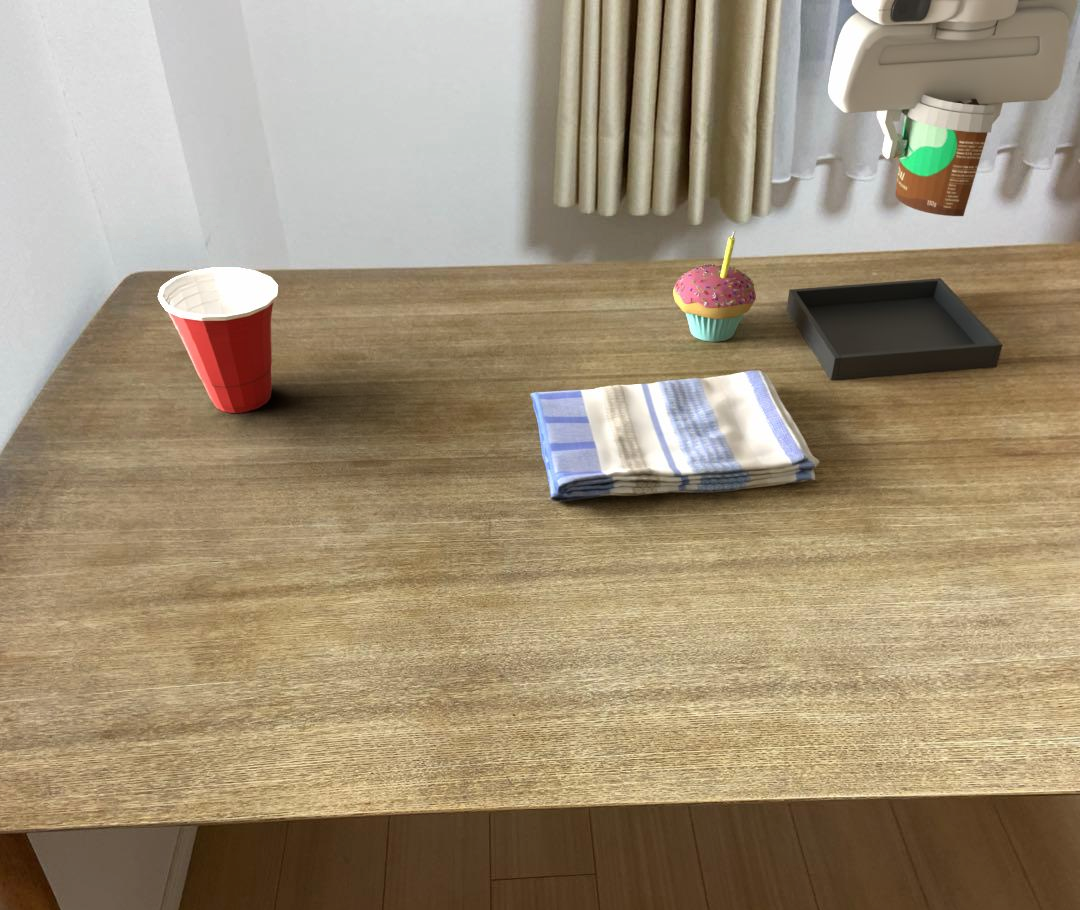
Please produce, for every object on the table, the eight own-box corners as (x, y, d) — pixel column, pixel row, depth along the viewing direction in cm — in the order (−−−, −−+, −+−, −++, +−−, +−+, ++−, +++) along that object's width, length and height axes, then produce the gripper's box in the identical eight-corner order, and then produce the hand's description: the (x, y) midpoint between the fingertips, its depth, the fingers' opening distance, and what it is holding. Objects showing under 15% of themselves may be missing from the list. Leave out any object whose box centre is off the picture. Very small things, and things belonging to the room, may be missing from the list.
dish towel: (820, 487, 88) (825, 461, 86) (550, 511, 87) (550, 484, 85) (765, 384, 101) (768, 359, 100) (530, 402, 100) (529, 378, 98)
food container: (869, 174, 102) (889, 67, 95) (932, 173, 101) (955, 66, 95) (899, 223, 92) (922, 108, 86) (968, 222, 92) (997, 107, 86)
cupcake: (767, 335, 109) (781, 227, 101) (707, 359, 105) (717, 249, 98) (713, 306, 114) (723, 201, 107) (654, 327, 111) (660, 221, 103)
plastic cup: (308, 413, 99) (285, 301, 92) (195, 437, 97) (161, 323, 89) (290, 361, 107) (267, 254, 100) (184, 382, 105) (153, 273, 97)
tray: (935, 298, 114) (940, 277, 113) (996, 366, 103) (1003, 344, 101) (786, 310, 113) (789, 289, 112) (830, 380, 102) (834, 358, 100)
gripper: (1064, -27, 89) (1020, 135, 97) (835, -14, 87) (812, 149, 96) (1103, -11, 84) (1053, 158, 93) (861, 3, 82) (834, 173, 91)
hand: (929, 154), depth 94 cm, fingers closed on food container, 6 cm apart
